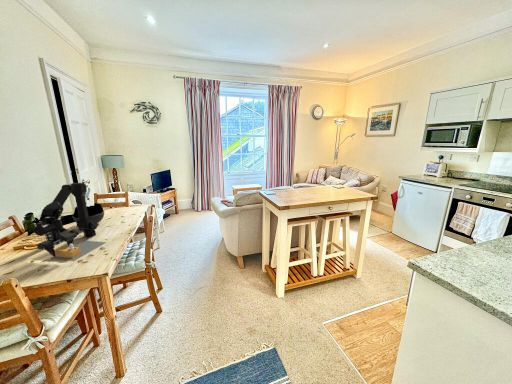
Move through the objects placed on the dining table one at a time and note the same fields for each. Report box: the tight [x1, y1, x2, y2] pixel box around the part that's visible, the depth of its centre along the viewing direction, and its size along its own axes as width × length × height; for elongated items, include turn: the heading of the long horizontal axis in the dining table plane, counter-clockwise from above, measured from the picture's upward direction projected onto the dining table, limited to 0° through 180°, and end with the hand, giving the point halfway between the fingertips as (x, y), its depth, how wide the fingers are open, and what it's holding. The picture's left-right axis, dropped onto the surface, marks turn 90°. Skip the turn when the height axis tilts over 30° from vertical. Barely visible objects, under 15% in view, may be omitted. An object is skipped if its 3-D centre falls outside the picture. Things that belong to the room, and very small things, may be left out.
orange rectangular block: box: [54, 245, 81, 258], centre depth 123 cm, size 12×5×4 cm, turn 81°
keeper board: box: [50, 240, 107, 262], centre depth 128 cm, size 16×22×9 cm
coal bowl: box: [72, 202, 105, 225], centre depth 167 cm, size 20×20×19 cm
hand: (62, 252), depth 124 cm, fingers open, 9 cm apart
